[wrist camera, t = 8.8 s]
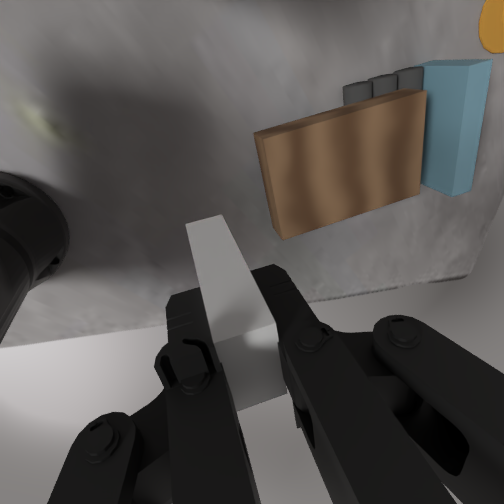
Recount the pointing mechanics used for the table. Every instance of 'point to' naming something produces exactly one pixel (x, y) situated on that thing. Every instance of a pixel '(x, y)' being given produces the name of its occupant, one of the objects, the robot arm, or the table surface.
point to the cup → (492, 26)
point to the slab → (342, 161)
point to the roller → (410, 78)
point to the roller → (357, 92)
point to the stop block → (453, 122)
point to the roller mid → (383, 84)
